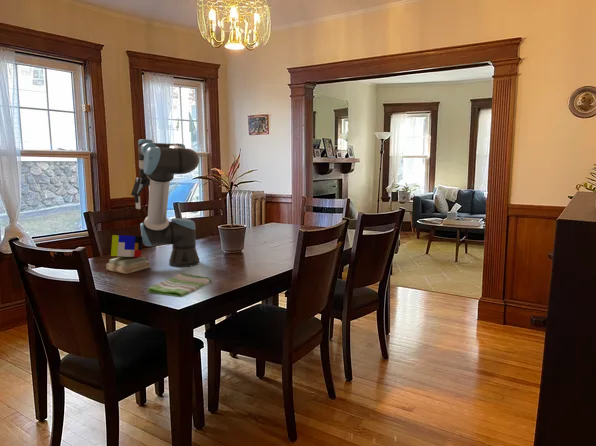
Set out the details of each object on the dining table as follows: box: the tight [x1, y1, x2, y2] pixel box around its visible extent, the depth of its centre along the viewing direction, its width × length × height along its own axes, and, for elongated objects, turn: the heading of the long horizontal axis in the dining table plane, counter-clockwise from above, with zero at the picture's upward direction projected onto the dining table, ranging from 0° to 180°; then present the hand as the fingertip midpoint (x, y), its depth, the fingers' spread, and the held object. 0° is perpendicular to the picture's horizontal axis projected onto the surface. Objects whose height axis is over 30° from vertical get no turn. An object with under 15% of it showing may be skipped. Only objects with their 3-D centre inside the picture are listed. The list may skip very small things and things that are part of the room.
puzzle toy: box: [110, 234, 143, 257], centre depth 214 cm, size 10×10×10 cm
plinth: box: [105, 256, 150, 274], centre depth 214 cm, size 14×14×5 cm
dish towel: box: [147, 271, 212, 298], centre depth 185 cm, size 17×23×4 cm
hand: (147, 207), depth 240 cm, fingers open, 13 cm apart
